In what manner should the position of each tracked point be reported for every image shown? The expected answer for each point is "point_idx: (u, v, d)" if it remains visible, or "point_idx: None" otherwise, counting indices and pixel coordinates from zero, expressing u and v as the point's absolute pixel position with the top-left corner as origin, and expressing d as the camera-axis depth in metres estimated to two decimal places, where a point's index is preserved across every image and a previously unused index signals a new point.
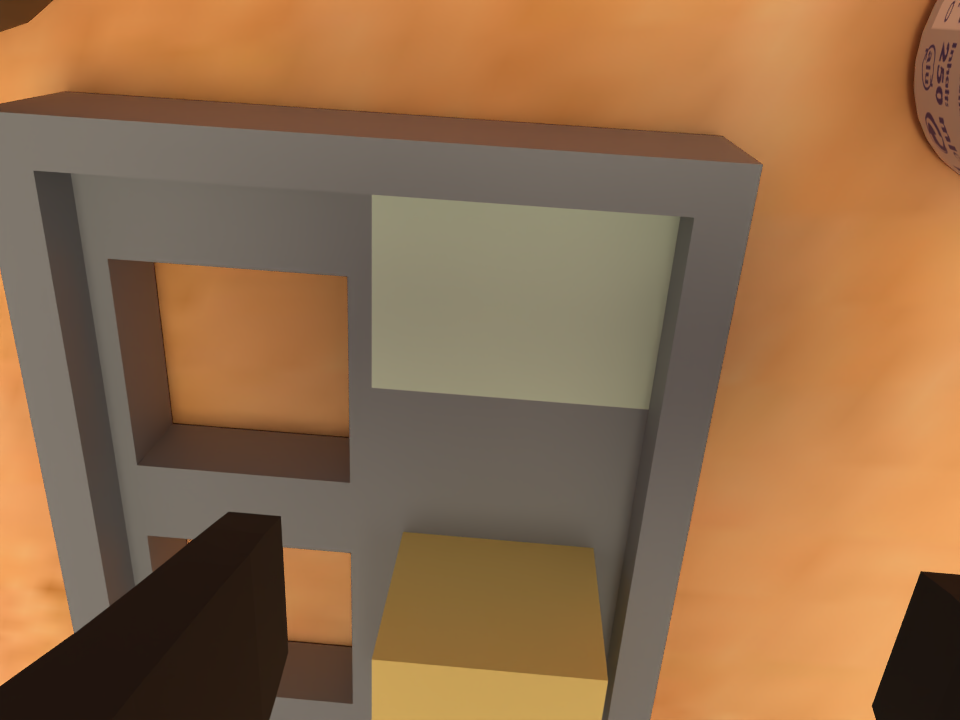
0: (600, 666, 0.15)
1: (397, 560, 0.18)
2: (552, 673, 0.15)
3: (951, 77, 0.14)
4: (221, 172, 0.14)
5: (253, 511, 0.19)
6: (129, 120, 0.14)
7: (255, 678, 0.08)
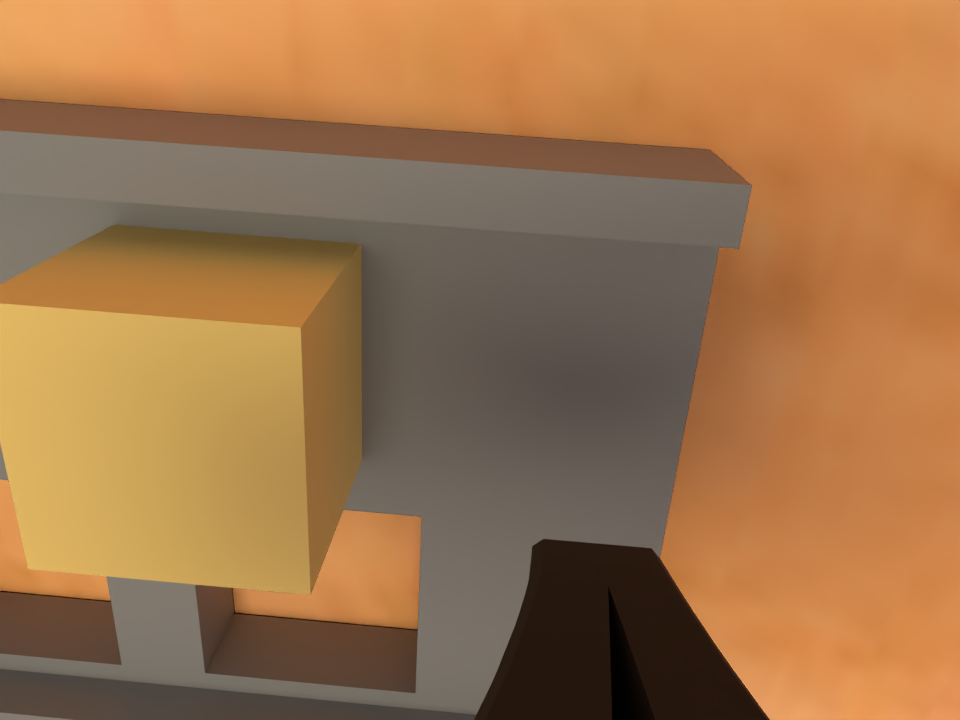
0: None
1: None
2: None
3: None
4: None
5: None
6: None
7: None
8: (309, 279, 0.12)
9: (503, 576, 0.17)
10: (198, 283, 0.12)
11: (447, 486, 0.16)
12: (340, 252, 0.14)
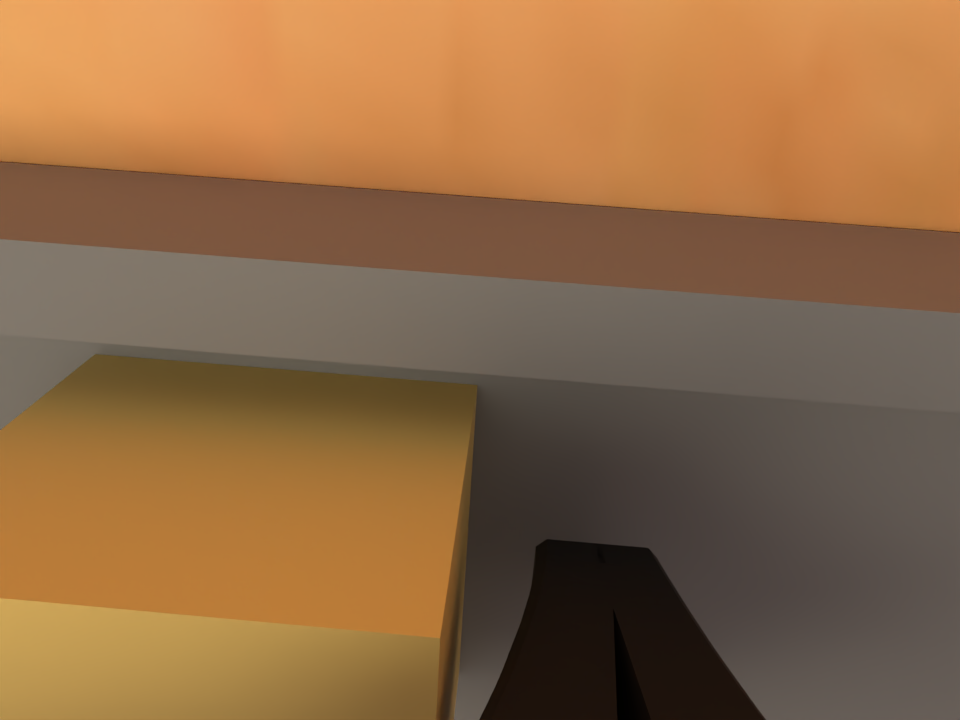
0: None
1: None
2: None
3: None
4: None
5: None
6: None
7: None
8: (419, 480, 0.07)
9: None
10: (235, 503, 0.07)
11: None
12: (451, 409, 0.09)
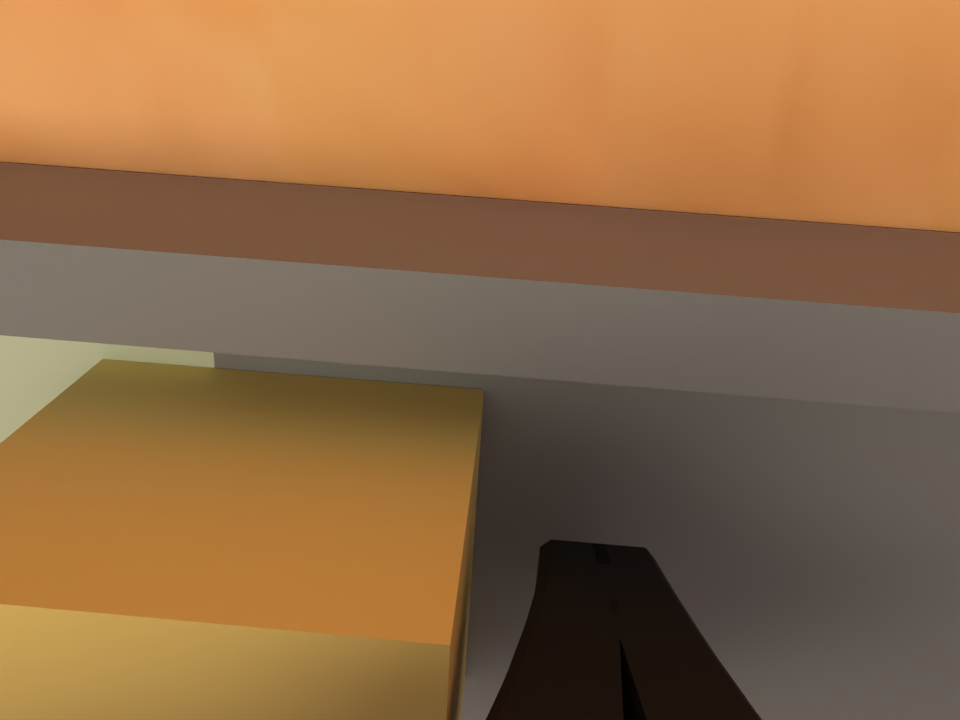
0: None
1: None
2: None
3: None
4: None
5: None
6: None
7: None
8: (427, 487, 0.07)
9: None
10: (244, 509, 0.07)
11: None
12: (458, 414, 0.09)
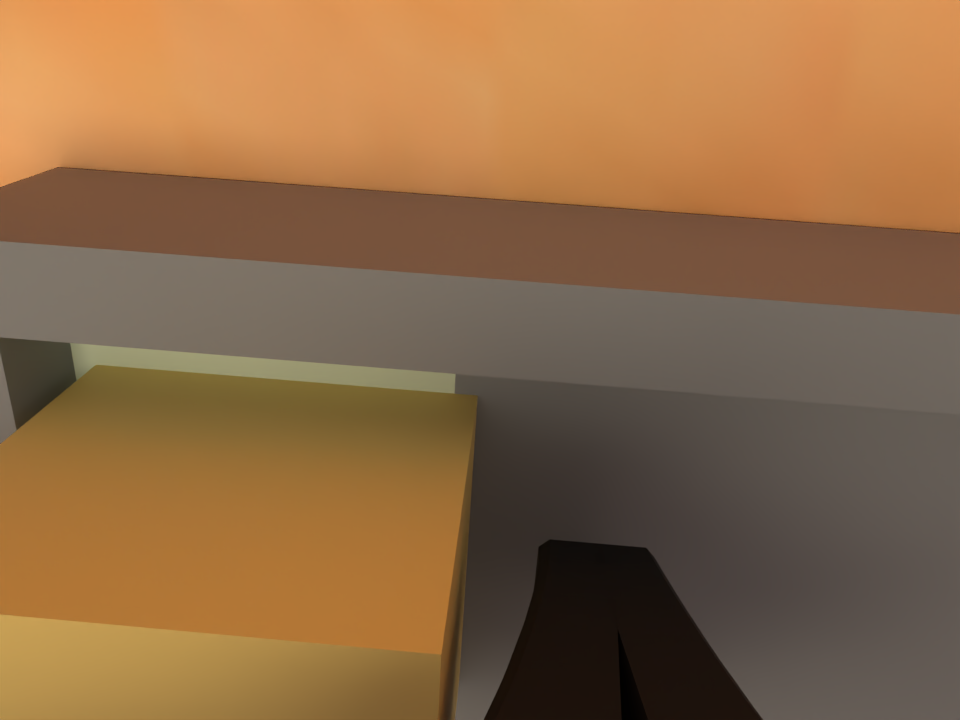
0: None
1: None
2: None
3: None
4: None
5: None
6: None
7: None
8: (421, 493, 0.07)
9: None
10: (236, 516, 0.07)
11: None
12: (452, 420, 0.09)
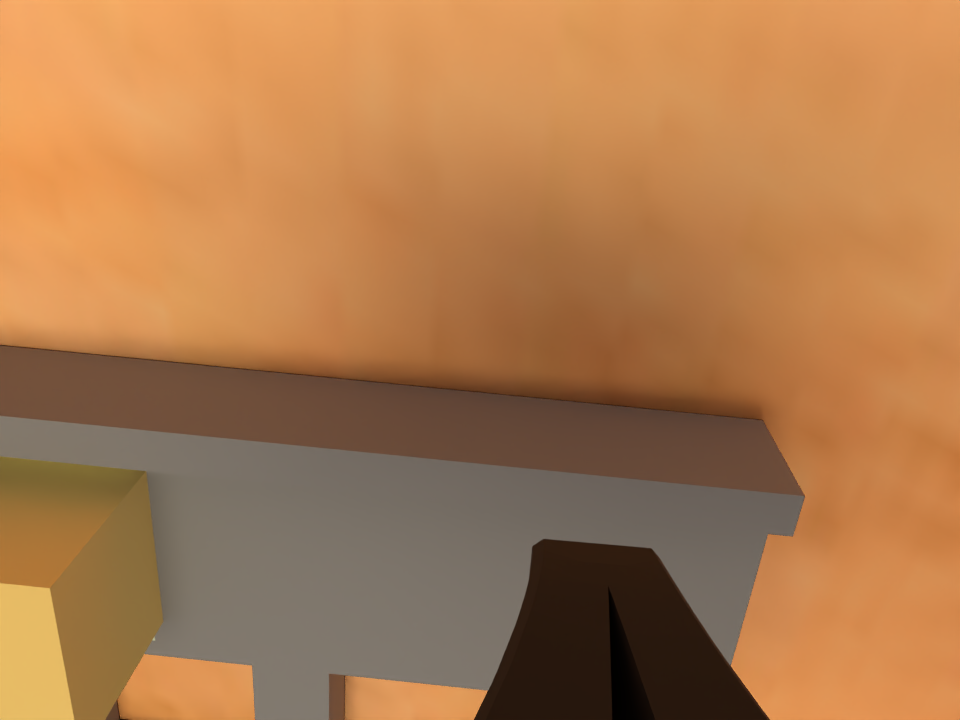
0: None
1: None
2: None
3: None
4: None
5: None
6: None
7: None
8: (83, 523, 0.16)
9: None
10: None
11: None
12: (123, 485, 0.18)
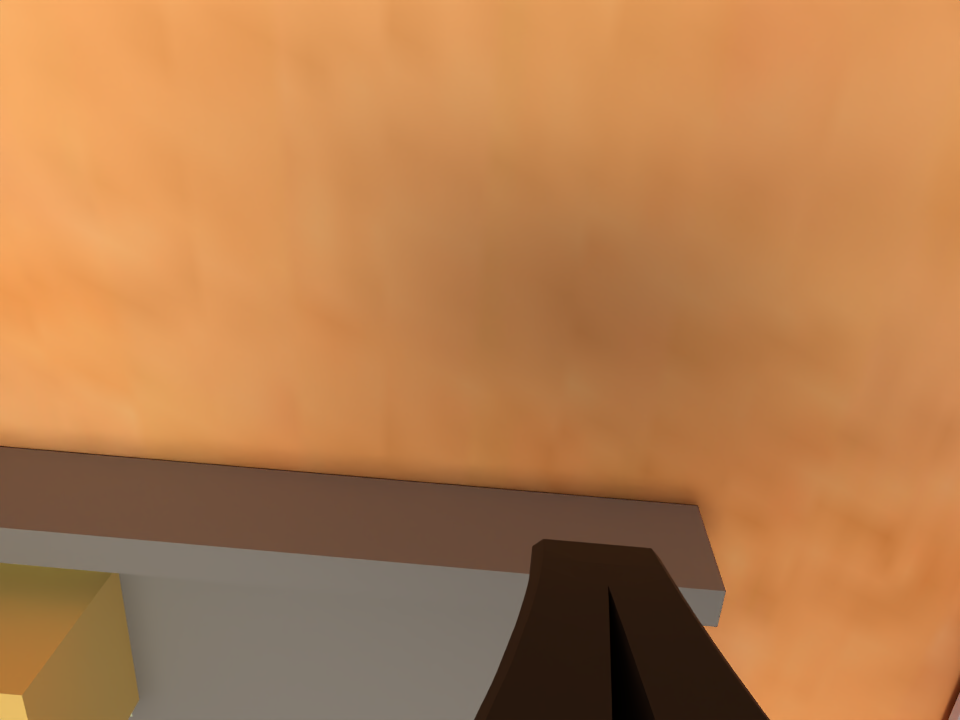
0: None
1: None
2: None
3: None
4: None
5: None
6: None
7: None
8: (55, 624, 0.18)
9: None
10: None
11: None
12: (94, 582, 0.19)
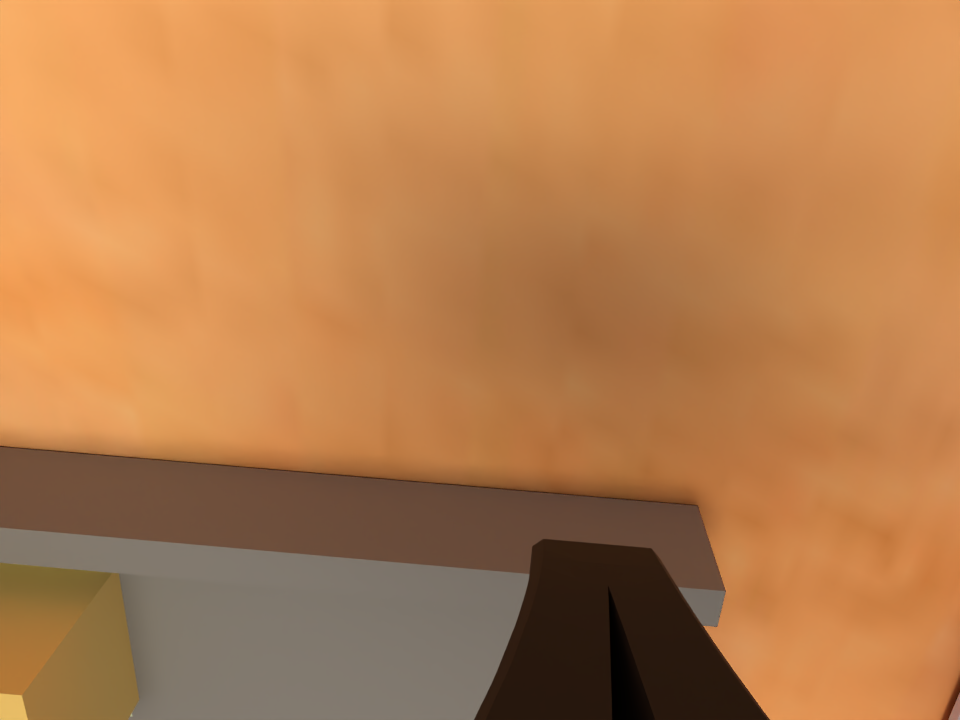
0: None
1: None
2: None
3: None
4: None
5: None
6: None
7: None
8: (55, 624, 0.18)
9: None
10: None
11: None
12: (94, 582, 0.19)
